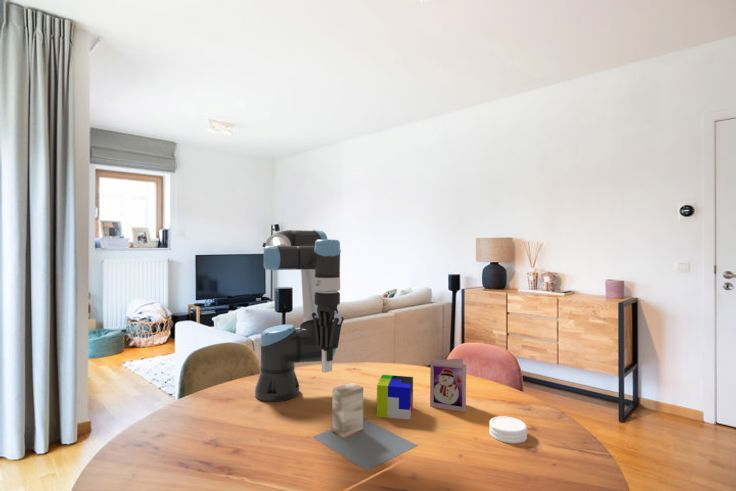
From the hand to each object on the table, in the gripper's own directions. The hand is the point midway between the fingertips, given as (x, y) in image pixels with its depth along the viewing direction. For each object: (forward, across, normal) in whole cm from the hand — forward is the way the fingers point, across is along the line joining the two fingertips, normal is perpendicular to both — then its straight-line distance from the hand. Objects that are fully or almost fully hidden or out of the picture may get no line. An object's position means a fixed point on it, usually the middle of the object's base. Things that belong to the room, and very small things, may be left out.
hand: (326, 371), depth 121 cm
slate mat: (+15, +17, 0) cm, 23 cm away
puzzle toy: (+15, +9, +20) cm, 27 cm away
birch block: (+15, +10, 0) cm, 18 cm away
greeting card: (+15, +17, +37) cm, 43 cm away
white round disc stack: (+16, +40, +33) cm, 54 cm away
